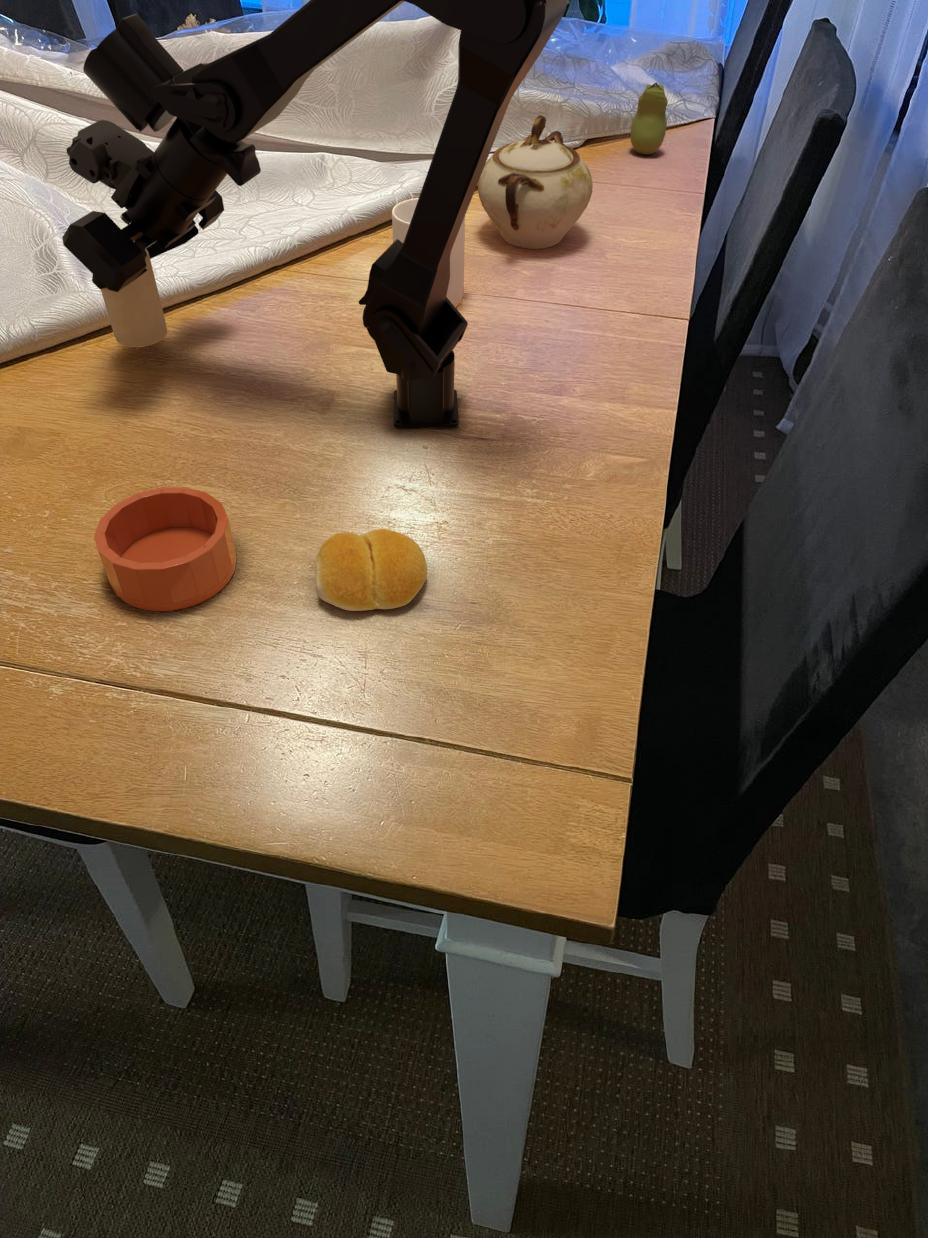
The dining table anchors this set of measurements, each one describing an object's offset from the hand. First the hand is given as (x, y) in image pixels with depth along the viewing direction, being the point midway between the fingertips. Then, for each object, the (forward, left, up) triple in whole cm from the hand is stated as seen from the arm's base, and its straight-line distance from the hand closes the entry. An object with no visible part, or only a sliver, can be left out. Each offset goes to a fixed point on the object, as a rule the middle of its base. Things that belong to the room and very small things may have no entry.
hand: (114, 272), depth 90 cm
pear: (+63, -69, -9) cm, 94 cm away
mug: (+10, -32, -9) cm, 35 cm away
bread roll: (-38, -27, -9) cm, 47 cm away
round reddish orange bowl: (-36, -11, -9) cm, 38 cm away
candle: (-1, -1, -7) cm, 7 cm away
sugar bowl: (+30, -47, -9) cm, 56 cm away
